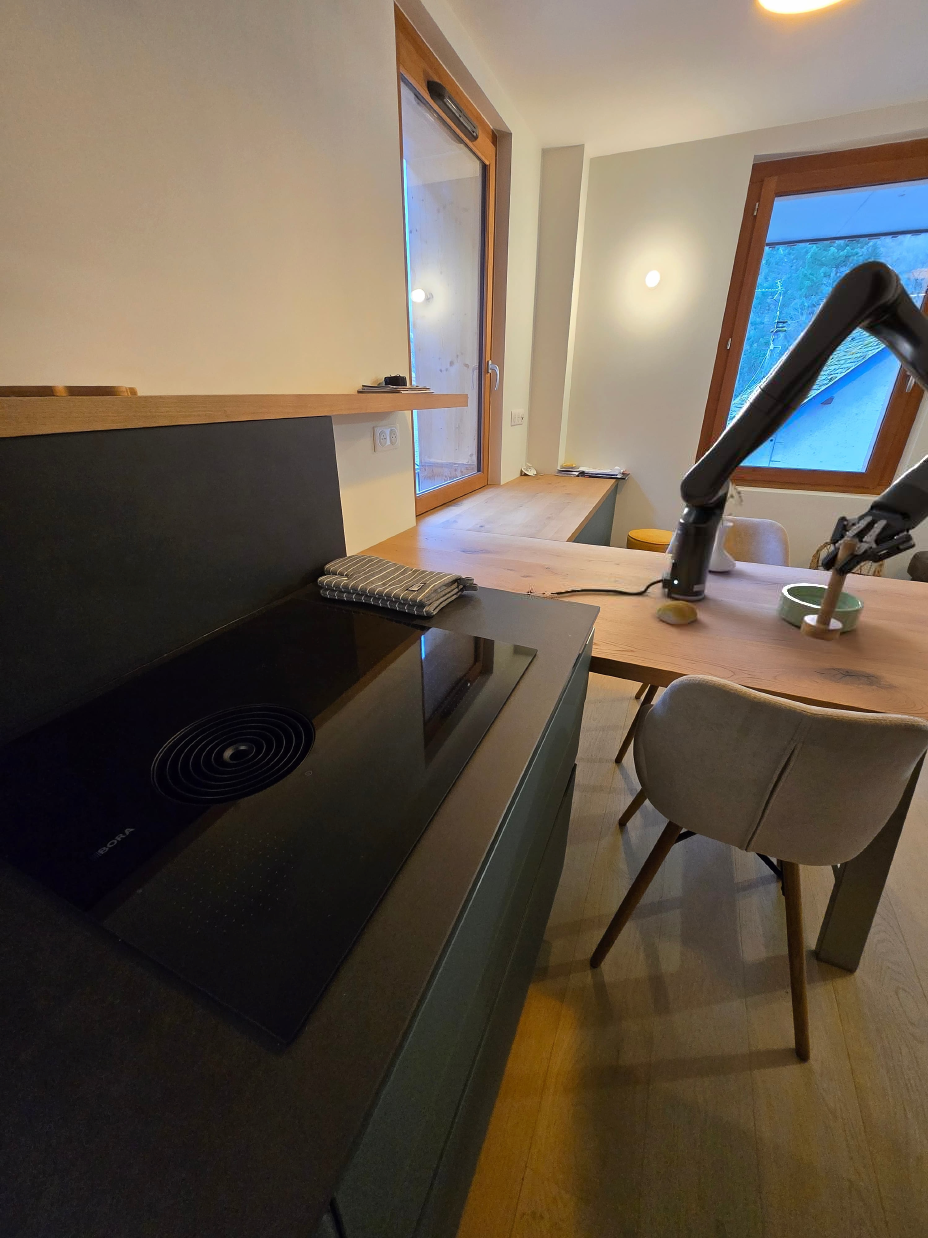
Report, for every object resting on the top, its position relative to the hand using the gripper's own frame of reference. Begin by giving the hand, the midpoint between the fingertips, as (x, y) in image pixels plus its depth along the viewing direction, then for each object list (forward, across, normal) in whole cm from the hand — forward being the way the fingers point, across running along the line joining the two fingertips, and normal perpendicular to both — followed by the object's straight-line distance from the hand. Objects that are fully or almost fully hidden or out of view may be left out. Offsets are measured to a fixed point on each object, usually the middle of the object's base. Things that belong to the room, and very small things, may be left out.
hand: (831, 570), depth 87 cm
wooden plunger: (+8, 0, +11) cm, 13 cm away
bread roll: (+21, -27, +9) cm, 36 cm away
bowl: (-1, -18, +30) cm, 36 cm away
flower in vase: (-1, -56, +31) cm, 64 cm away
